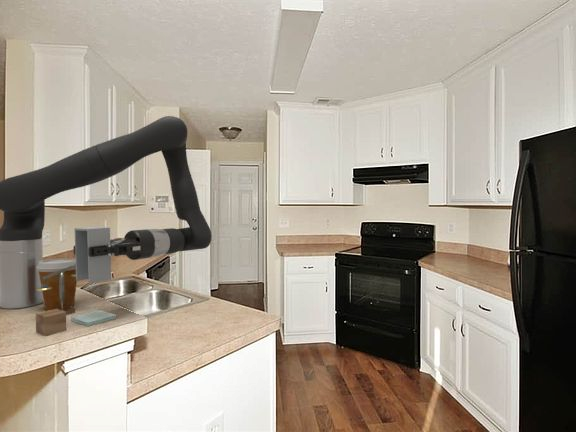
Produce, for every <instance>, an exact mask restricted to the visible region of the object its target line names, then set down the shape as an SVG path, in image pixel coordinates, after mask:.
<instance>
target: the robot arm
mask: <svg viewBox="0 0 576 432" xmlns="http://www.w3.org/2000/svg"><path fill="white" fill-rule="evenodd" d="M187 140H188V127H187V125H186V123H185V121H184V120H182V119H181V118H180V117H177V116H173V115H165V116H163V117H161V118H158V119H156V120H155V121H153V122H151V123H149V124H147V125H145V126H143V127H142V128H139V129H137V130H135V131H133V132H130V133H128V134H127V133H126V134H123V135H121V136H118V137H115V138H111V139H110V140H106V141H103V142H101V143H98V144H96V145H92V146H90V147H87V148H84V149H82V150H80V151H78V152H75V153H73V154H70V155H68V156H66V157H64V158H62V159H60V160H57V161H55V162H53V163H52V164H49V165H48V166H44V167H42V168H38V169H35V170H32V171H29V172H25V173H22V174H18V175H14V176H10V177H7V178H4V179H3V180H0V211H2V212H3V222H2V225H1V227H0V308H2V309H22V308H28V307H32V306H33V307H34V306H36V305H40V304H42V303H44V299H43V293H42V291H37V290H36V289H37V288H40V287H41V281H40V276H39V271H38V269H37V268H36V267H37V266H38V263H39V262H40V261H44V260H43V259H44V257H43V254H44V253H43V252H44V251H43V231H44V227H45V217H46V215H45V214H46V213H45V211H46V209H45V208H46V205H45V201H46V200H47V199H49V198H51V197H54V196H55V195H58V194H60V193H63V192H67V191H70V190H74V189H75V190H76V189H79V188H83V187H87V186H90V185H94V184H96V183H99V182H102V181H104V180H107V179H109V178H112V177H114V176H116V175H118V174H119V173H122V172H123V171H125V170H127V169H128V168H130V167H131V166H134V165H135V164H136V163H137V162H139V161H140V160H142V159H143V158H146V157H148V156H150V155H153V154H156V153H160V152H161V154H162V156H163V159H164V162H165V165H166V168H167V172H168V177H169V183H170V191H171V195H172V200H173V205H174V209H175V213H176V216H177V218H178V220H180V221H186V223H187V225H188V226H189V227H183V228H175V227H174V228H172V227H171V228H147V229H134V230H133V229H132V230H129V231H127V232H126V233H125V235H124V237H123V238H122V237H116V238H113V239H110V244H108V245H107V247H106V245H102V246H93V247H89V248H88V255H89V256H90V257H96V256H103V255H108V256H111V257H112V256H113V257H120V256H126V257H127V258H128V259H129V260H131V261H136V260H142V259H143V260H144V259H150V258H156V257H159V256H162V255H164V256H165V255H168V254H169V255H170V254H175V253H178V252H186V251H187V252H188V251H195V250H204V249H207V248H208V247H209V246H210V244H211V243H212V236H213V235H212V230H211V228H210V226H209V223H208V222H207V220H206V218H205V216H204V214H203V212H202V210H201V208H200V203H199V199H198V198H199V197H198V195H197V194H198V193H197V189H196V186H195V183H194V180H193V178H192V173H191V171H190V166H189V163H188V155H187ZM73 255H75V245H73Z"/></svg>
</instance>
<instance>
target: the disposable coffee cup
mask: <svg viewBox="0 0 576 432" xmlns="http://www.w3.org/2000/svg"><path fill="white" fill-rule="evenodd" d="M74 264H76V260H75V258H73V257H71V258H70V257H65V258H61V257H60V258H50V259H44V260H43V261H40V262H39V263H38V266H37V267H36V268H37V269H38V271H39V276H40V281H41V284H44V279H43V277H44V276H46V275H49V274H51V273H54V272H57V271H59V270H62V269H64V268H67V267H69V266H72V265H74ZM75 273H76V267H75V268H72V269H70V270H67V271H65V272H64V300H65V306H68V307H71V308H73V307H74V306H75V299H76V298H75V297H76V290H77V283H78V281H76V277H72V276H71V274H75ZM45 283H47V284H48V287H52V289H50V290H45V291H42V293H43V303H44V309H45V310H46V311H49V310H52V309H56V308H60V294H59V274H57V275H55V276H52V277H50V278H48V279H45Z"/></svg>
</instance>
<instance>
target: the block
mask: <svg viewBox="0 0 576 432" xmlns="http://www.w3.org/2000/svg"><path fill="white" fill-rule="evenodd" d="M65 331H67V315H66V312H65V311H62V310H59V309H54V310H46V311H45V310H44V311H41V312H37V313H35V332H36V333H37V334H38V335H39V334H40V335H41V336H44V337H46V336H47V337H48V336H51V335H54V334H58V333H62V332H65Z"/></svg>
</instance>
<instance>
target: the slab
mask: <svg viewBox="0 0 576 432" xmlns="http://www.w3.org/2000/svg"><path fill="white" fill-rule="evenodd" d="M115 319H117V314H114V313H111V312H108V311H104V310H99V309H97V310H95V311H91V312H90V311H89V312H87V313H82V314H78V315H74V316H71V317H70V321H71V322H73V323H77V324H80V325H82V326H83V325H84V326H87V327H90V326H93V325H98V324H100V323H101V324H102V323H104V322H107V321H112V320H115Z"/></svg>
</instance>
